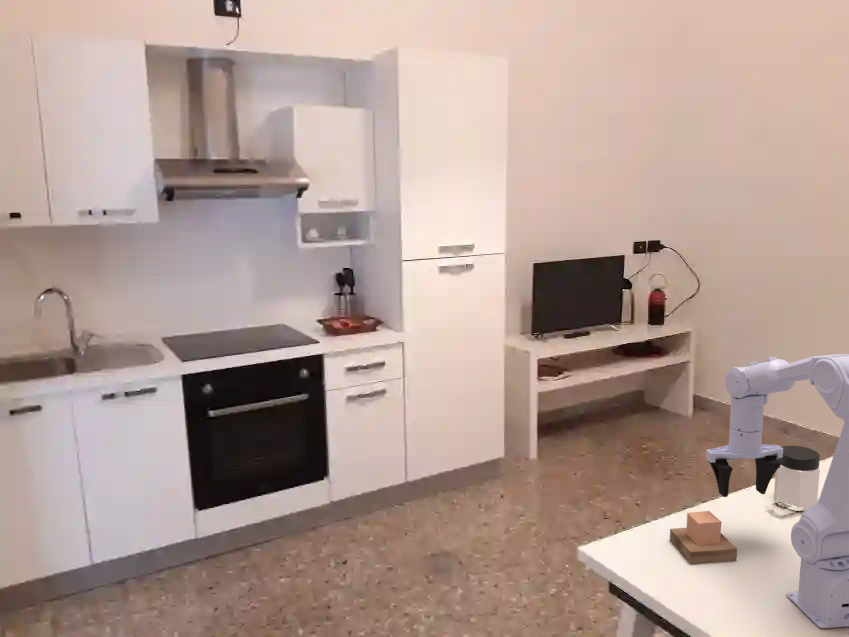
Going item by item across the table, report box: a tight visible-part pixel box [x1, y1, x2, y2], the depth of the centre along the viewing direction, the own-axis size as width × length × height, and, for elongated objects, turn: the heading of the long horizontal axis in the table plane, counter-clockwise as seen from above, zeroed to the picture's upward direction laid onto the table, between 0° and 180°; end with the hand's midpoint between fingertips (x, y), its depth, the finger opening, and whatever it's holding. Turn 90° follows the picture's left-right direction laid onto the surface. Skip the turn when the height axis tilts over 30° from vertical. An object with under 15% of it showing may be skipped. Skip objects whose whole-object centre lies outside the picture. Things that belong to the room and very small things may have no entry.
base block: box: [669, 527, 738, 565], centre depth 134 cm, size 9×9×2 cm
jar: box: [773, 445, 821, 510], centre depth 151 cm, size 9×8×12 cm
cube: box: [686, 510, 722, 545], centre depth 134 cm, size 4×4×4 cm
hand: (741, 493), depth 135 cm, fingers open, 7 cm apart
